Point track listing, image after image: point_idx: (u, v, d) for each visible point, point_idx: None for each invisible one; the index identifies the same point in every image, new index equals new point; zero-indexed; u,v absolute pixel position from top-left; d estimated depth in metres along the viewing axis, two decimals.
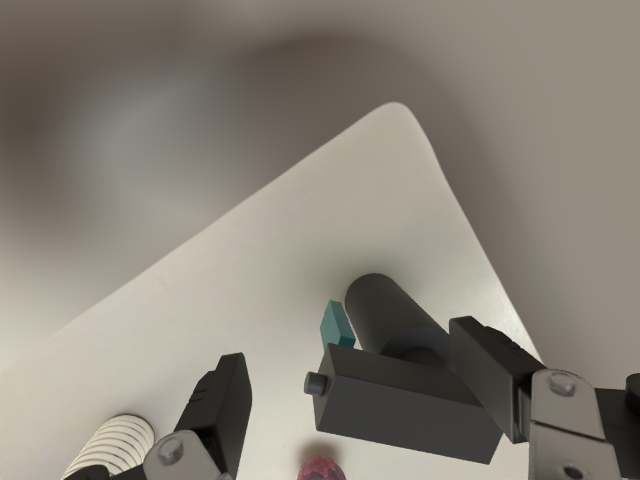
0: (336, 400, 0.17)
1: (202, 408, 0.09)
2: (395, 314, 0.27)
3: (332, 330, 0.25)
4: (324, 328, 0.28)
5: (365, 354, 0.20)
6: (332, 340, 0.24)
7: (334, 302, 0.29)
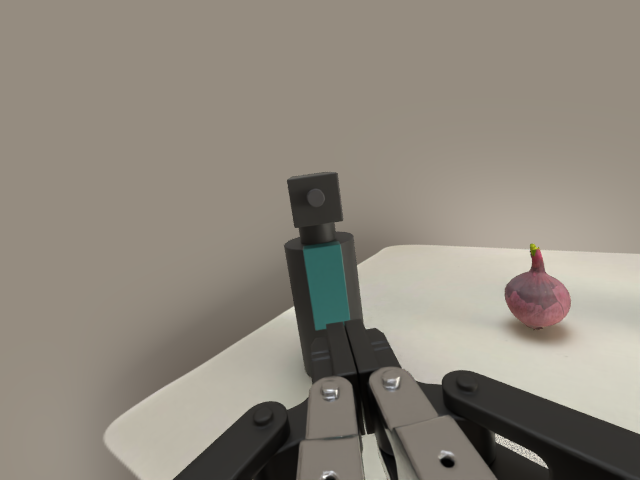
0: (307, 176, 0.23)
1: (336, 362, 0.10)
2: (294, 275, 0.30)
3: (318, 277, 0.25)
4: (337, 306, 0.26)
5: None
6: (321, 265, 0.25)
7: (314, 323, 0.26)
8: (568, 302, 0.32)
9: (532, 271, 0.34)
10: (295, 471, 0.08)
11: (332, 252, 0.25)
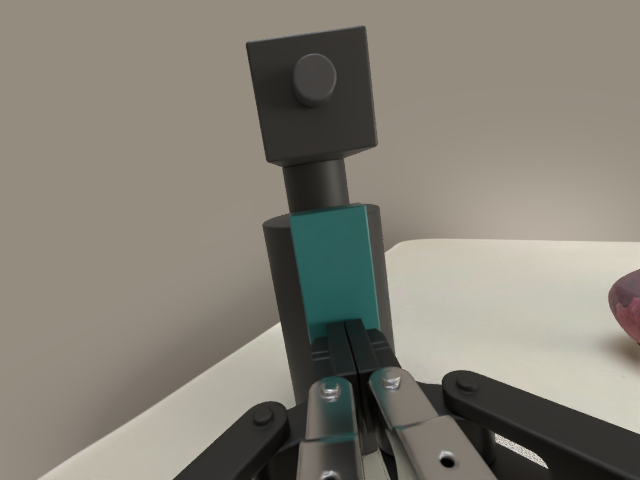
0: None
1: (336, 362, 0.10)
2: (279, 274, 0.17)
3: (320, 274, 0.12)
4: None
5: None
6: (326, 250, 0.12)
7: None
8: None
9: None
10: (295, 471, 0.08)
11: (349, 222, 0.12)
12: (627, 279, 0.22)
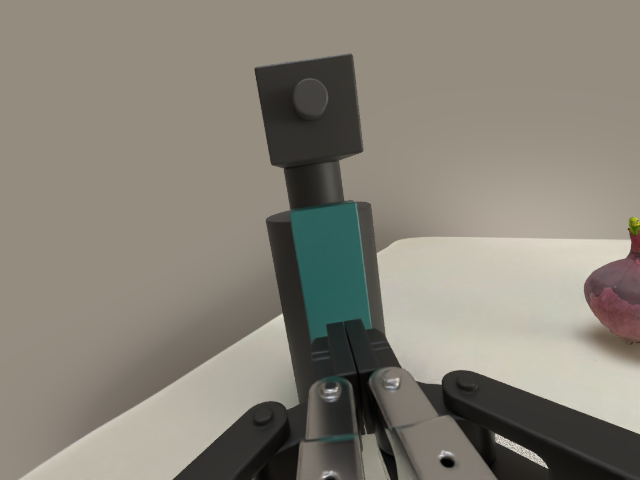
0: None
1: (336, 362, 0.10)
2: (281, 264, 0.19)
3: (317, 263, 0.14)
4: (350, 312, 0.15)
5: None
6: (322, 241, 0.14)
7: None
8: None
9: (633, 258, 0.23)
10: (295, 471, 0.08)
11: (342, 217, 0.14)
12: (600, 271, 0.24)
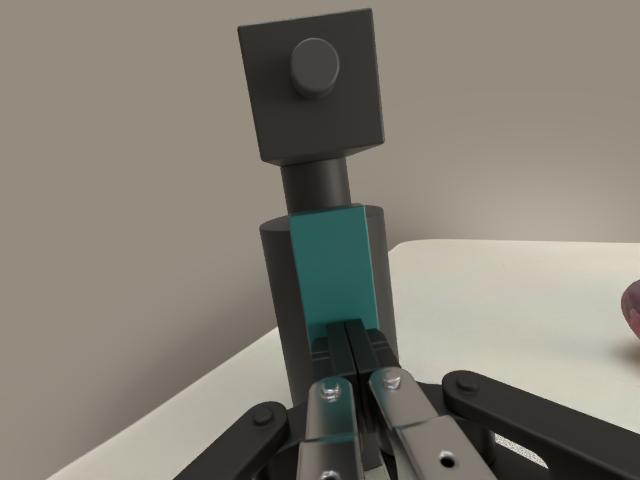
0: None
1: (336, 362, 0.10)
2: (277, 280, 0.16)
3: (319, 275, 0.12)
4: None
5: None
6: (325, 250, 0.12)
7: None
8: None
9: None
10: (295, 471, 0.08)
11: (348, 222, 0.12)
12: None
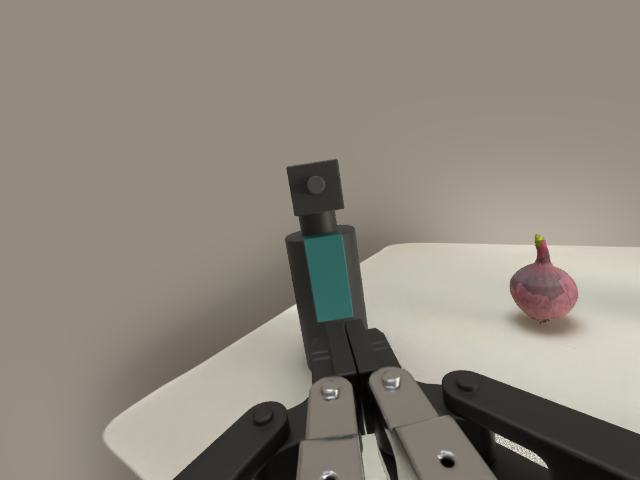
0: None
1: (336, 362, 0.10)
2: (295, 268, 0.30)
3: (319, 268, 0.25)
4: (339, 297, 0.25)
5: None
6: (322, 255, 0.24)
7: None
8: (575, 293, 0.32)
9: (537, 262, 0.33)
10: (295, 471, 0.08)
11: (333, 242, 0.24)
12: (518, 272, 0.35)
